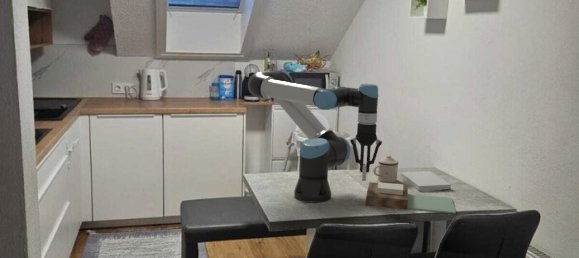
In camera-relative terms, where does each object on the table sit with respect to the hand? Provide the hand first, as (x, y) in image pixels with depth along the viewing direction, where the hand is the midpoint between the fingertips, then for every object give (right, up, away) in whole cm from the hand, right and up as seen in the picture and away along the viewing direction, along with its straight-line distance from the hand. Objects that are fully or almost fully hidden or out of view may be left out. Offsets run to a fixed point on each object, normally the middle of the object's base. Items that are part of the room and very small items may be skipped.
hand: (364, 179), depth 215 cm
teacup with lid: (+13, -3, +28) cm, 31 cm away
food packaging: (+31, -5, +24) cm, 40 cm away
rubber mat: (+26, -9, -4) cm, 28 cm away
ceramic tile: (+10, -4, -1) cm, 11 cm away
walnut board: (+9, -8, 0) cm, 12 cm away
